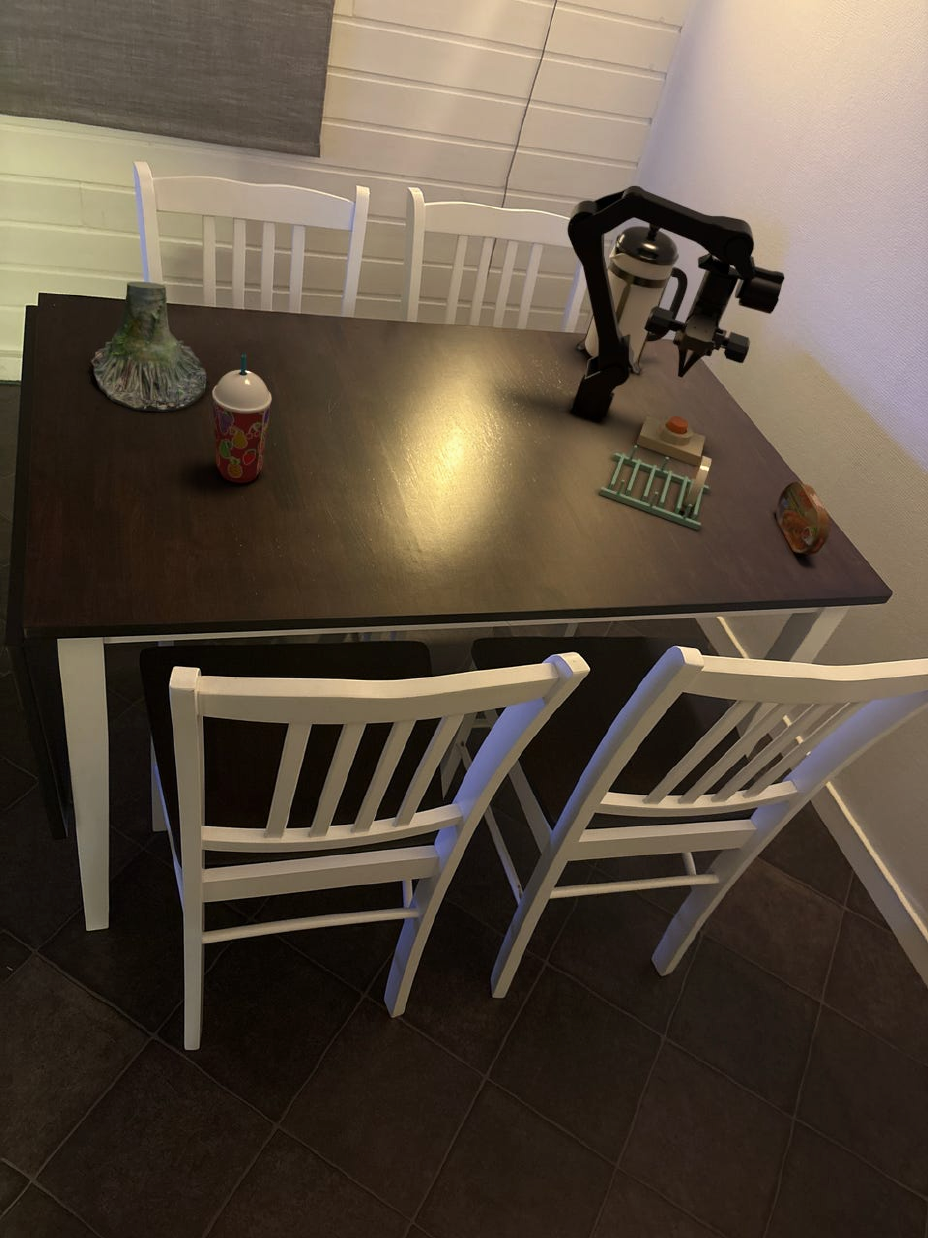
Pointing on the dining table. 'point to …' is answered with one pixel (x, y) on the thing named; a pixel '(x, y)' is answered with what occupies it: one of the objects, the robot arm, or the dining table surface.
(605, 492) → the rack
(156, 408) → the tree stump
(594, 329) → the coffee press
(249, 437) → the smoothie
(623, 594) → the dining table surface
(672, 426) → the button
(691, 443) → the panel
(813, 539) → the tin
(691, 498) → the plate
